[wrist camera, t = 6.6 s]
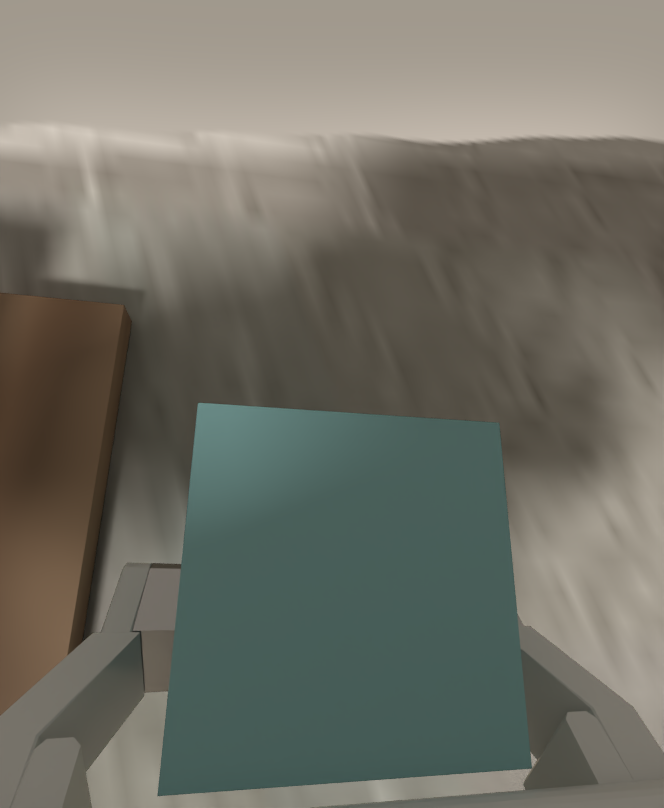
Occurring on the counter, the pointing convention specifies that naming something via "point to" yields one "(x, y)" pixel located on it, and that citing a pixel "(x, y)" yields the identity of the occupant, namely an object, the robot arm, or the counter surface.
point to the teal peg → (343, 604)
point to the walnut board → (52, 472)
